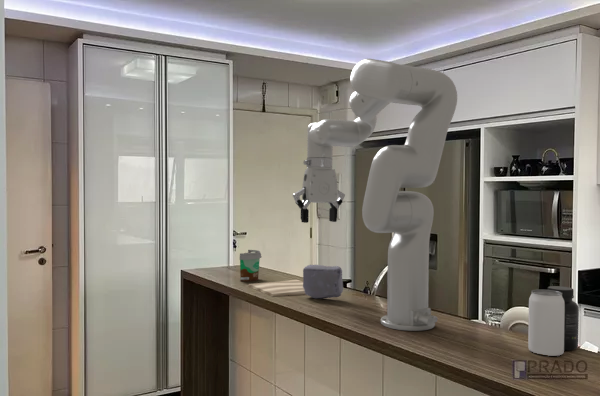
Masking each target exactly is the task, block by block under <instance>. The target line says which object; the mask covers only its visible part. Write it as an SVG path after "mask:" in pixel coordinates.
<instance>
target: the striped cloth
mask: <svg viewBox="0 0 600 396" xmlns="http://www.w3.org/2000/svg"><path fill="white" fill-rule="evenodd" d="M248 287H249V288H251V289H253V290H255V291H258V292H261V293H263V294H265V295H268V296H270V297H272V298H273V297H274V298H275V297H283V296H284V297H286V296H288V295H289V296H301V295H306V294H305V291H304V288H303V280H299V279H291V280H290V279H289V280H281V281H280V280H279V281H270V282H269V281H268V282H267V281H266V282H259V283H258V282H256V283H248Z"/></svg>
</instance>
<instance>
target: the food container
mask: <svg viewBox="0 0 600 396" xmlns="http://www.w3.org/2000/svg"><path fill="white" fill-rule="evenodd" d="M261 258H262V254H261V251H260V250H256V249H248V251H247V252H244V253H243V252H241V253H239V269H240V272H239V274H240V282H256V281H258V280H259V271H260V260H261Z"/></svg>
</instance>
